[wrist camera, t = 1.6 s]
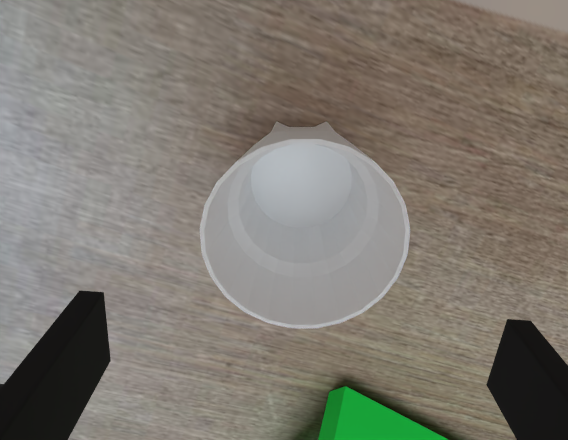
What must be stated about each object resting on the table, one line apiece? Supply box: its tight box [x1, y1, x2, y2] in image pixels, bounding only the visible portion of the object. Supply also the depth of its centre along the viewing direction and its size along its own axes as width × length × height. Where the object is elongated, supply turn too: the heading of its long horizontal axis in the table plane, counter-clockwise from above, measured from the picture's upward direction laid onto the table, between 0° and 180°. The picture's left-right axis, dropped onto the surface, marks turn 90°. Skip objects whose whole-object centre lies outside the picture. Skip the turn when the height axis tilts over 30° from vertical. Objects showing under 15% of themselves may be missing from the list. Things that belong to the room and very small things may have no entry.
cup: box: [200, 121, 410, 328], centre depth 26 cm, size 10×10×10 cm
